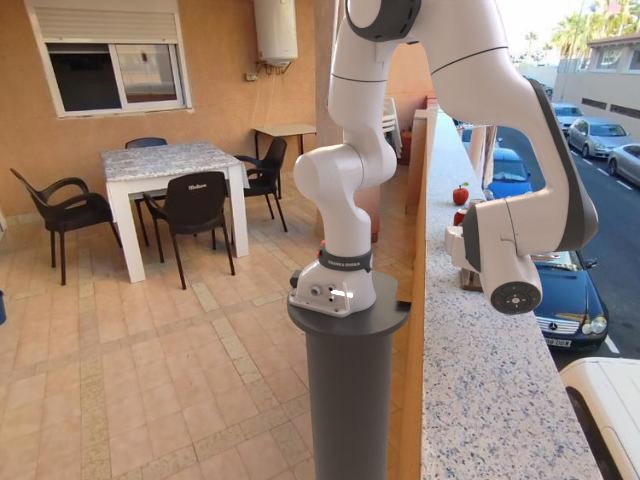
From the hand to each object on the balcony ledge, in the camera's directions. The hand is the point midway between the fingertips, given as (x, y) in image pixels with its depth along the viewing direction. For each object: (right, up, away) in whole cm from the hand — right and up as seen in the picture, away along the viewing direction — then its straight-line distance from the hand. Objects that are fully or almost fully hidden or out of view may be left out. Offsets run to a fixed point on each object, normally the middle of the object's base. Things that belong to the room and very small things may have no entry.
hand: (492, 227), depth 82 cm
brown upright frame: (+3, -13, +15) cm, 20 cm away
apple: (+19, +12, +71) cm, 74 cm away
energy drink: (+13, -1, +42) cm, 44 cm away
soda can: (+6, -5, +34) cm, 35 cm away
